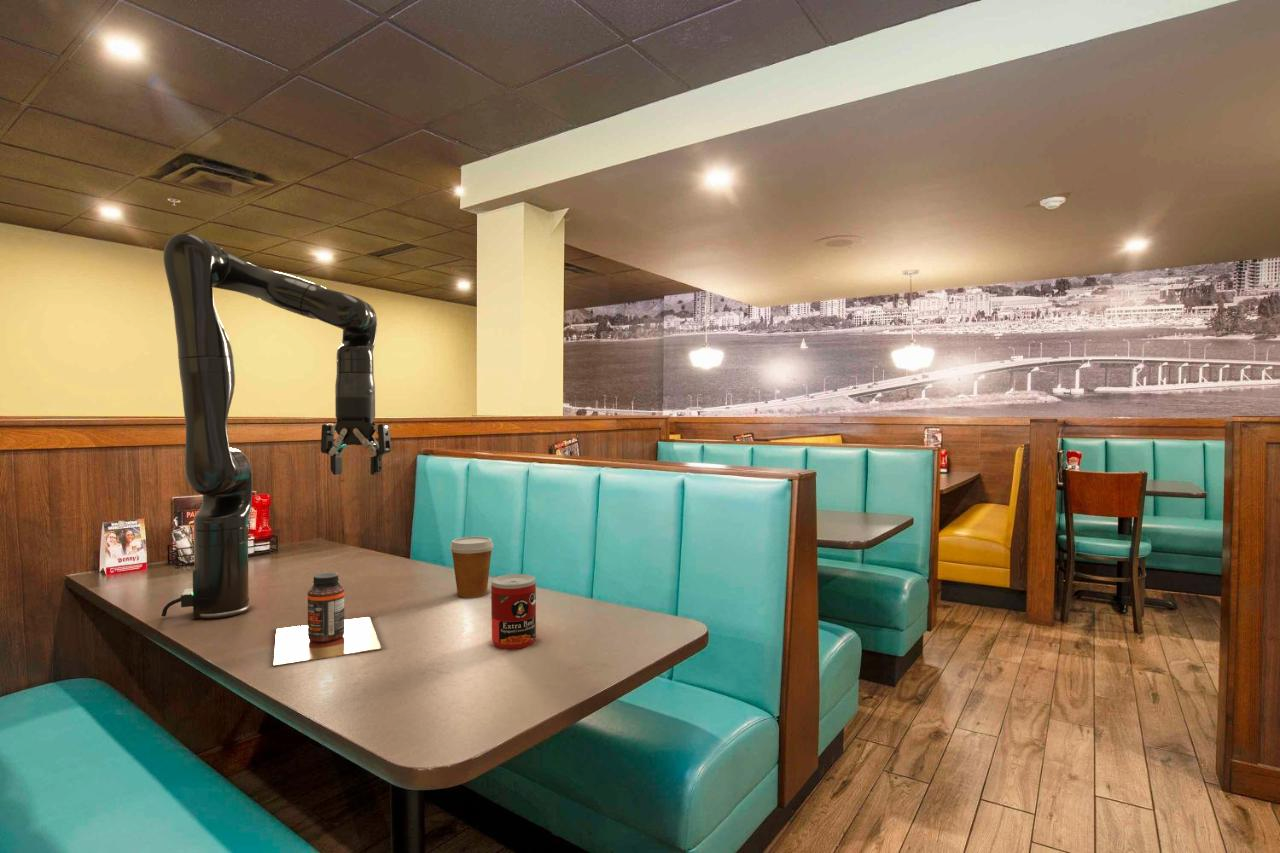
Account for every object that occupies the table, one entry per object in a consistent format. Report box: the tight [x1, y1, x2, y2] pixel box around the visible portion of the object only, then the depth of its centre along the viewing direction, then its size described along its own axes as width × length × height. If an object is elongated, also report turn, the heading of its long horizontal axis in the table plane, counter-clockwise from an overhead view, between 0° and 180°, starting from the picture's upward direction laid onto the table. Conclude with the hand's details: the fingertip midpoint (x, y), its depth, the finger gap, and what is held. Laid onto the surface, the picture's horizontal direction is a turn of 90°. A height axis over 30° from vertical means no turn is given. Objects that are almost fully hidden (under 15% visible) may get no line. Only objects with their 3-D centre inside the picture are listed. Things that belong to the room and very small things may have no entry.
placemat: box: [273, 616, 382, 667], centre depth 118 cm, size 16×20×1 cm
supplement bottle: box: [307, 571, 346, 643], centre depth 118 cm, size 6×6×11 cm
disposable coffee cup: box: [449, 536, 495, 599], centre depth 147 cm, size 10×10×12 cm
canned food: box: [490, 573, 537, 650], centre depth 116 cm, size 8×8×11 cm
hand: (356, 474), depth 137 cm, fingers open, 8 cm apart
